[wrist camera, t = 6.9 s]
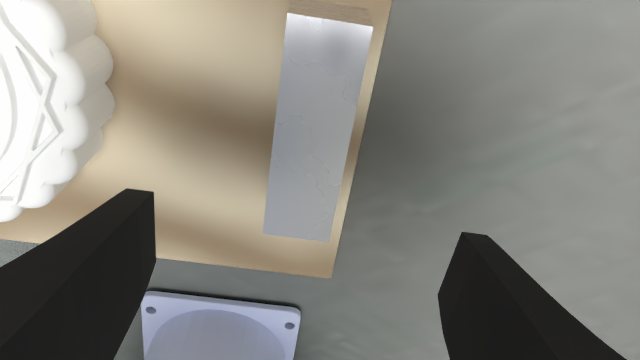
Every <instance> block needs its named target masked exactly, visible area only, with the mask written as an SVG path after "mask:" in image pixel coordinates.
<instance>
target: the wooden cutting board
mask: <svg viewBox="0 0 640 360" xmlns="http://www.w3.org/2000/svg"><path fill="white" fill-rule="evenodd" d="M91 2H92V3H93V6H94V8H95V11H96V14H97V27H96V31H95V33H94V34H95V35H96V36H98V37H99V38H100V39H101V40H102V41H103V42H104V43H105V44H106V46H107V47H108V49H109V50H110V53H111V55H112V58H113V71H112V74H111V76H110V78H109V79H108V80H107V81H106V82H105V84H106V85H107V86H108V88H109V89H110V91H111V93H112V94H113V97H114V101H115V109H114V113H113V115H112V117H111V118H110V119H109V120H108V121H107V122H106V123H105V124H104V125H103V126H102V127H101V129H102V132H103V139H104V140H103V145H102V147H101V149H100V150H99V151H98V152H97V153H96V154H95V155H94V156H93V157H92V158H91V159H90V160H89V161H88V162H87V163H86V165H85V166H84V167H83V168H82V169H81V170H80V171H79V172H78V174H77V175H76V176H75V177H74V178H73V179H72V180H71V181H70V182H69V183H68V184H67V185H66V186H65V187H64V188H63V189H62V190H61V191H60V192H59V193H58V194H57V196H56V197H55V198H54V199H53V200H52V201H51V202H49V203H48V204H47V205H45V206H43V207H39V208H26V209H25V210H24V211H23V212H22V213H21V214H20V215H19V216H18V217H17V218H15V219H13V220H10V221H7V222H0V239H7V240H15V241H24V242H32V243H40V244H42V243H43V242H45V241H47V240H48V239H50V238H52V237H53V236H55V235H57V234H58V233H60V232H61V231H63V230H64V229H66V228H67V227H69V226H70V225H72V224H73V223H75V222H77V221H78V220H80V219H81V218H83V217H84V216H86V215H87V214H89V213H90V212H92V211H93V210H95V209H96V208H98V207H99V206H100V205H102V204H103V203H105V202H106V201H108V200H109V199H111V198H112V197H114V196H115V195H117V194H118V193H120V192H121V191H123V190H125V189H126V188H129V189H137V190H145V191H152V192H154V211H155V241H156V258H164V259H172V260H180V261H189V262H197V263H205V264H213V265H222V266H230V267H238V268H246V269H255V270H263V271H271V272H279V273H288V274H296V275H304V276H312V277H321V278H329V279H331V276H332V271H333V267H334V262H335V258H336V253H337V249H338V244H339V239H340V235H341V230H342V226H343V221H344V217H345V212H346V208H347V203H348V199H349V194H350V190H351V185H352V180H353V176H354V171H355V167H356V162H357V158H358V153H359V149H360V144H361V140H362V135H363V131H364V126H365V121H366V117H367V112H368V108H369V103H370V99H371V94H372V90H373V85H374V81H375V76H376V72H377V67H378V62H379V58H380V53H381V49H382V44H383V40H384V35H385V31H386V26H387V22H388V17H389V13H390V8H391V4H392V0H91Z"/></svg>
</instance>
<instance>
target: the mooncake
mask: <svg viewBox="0 0 640 360" xmlns="http://www.w3.org/2000/svg"><path fill="white" fill-rule="evenodd" d="M96 27H97V14H96V11H95V8H94V6H93V3H92V2H91V0H0V222H7V221H10V220H13V219H15V218H17V217H18V216H19V215H20V214H21V213H22V212H23V211H24V210H25V209H26V208H39V207H43V206H45V205H47V204H48V203H49V202H51V201H52V200H53V199H54V198H55V197H56V196H57V194H58V193H59V192H60V191H61V190H62V189H63V188H64V187H65V186H66V185H67V184H68V183H69V182H70V181H71V180H72V179H73V178H74V177H75V176H76V175H77V174H78V172H79V171H80V170H81V169H82V168H83V167H84V166H85V165H86V163H87V162H88V161H89V160H90V159H91V158H92V157H93V156H94V155H95V154H96V153H97V152H98V151H99V150H100V149H101V147H102V145H103V140H104V139H103V132H102V129H101V127H102V126H103V125H104V124H105V123H106V122H107V121H108V120H109V119H110V118H111V117H112V115H113V113H114V109H115V101H114V97H113V94H112V93H111V91H110V89H109V88H108V86H107V85H106V84H105V82H106V81H107V80H108V79H109V78H110V76H111V74H112V71H113V58H112V55H111V53H110V50H109V49H108V47H107V46H106V44H105V43H104V42H103V41H102V40H101V39H100V38H99V37H98V36H96V35H95V34H94V33H95V31H96Z"/></svg>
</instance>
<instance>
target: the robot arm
mask: <svg viewBox="0 0 640 360" xmlns="http://www.w3.org/2000/svg"><path fill="white" fill-rule="evenodd" d="M155 263H156V241H155V211H154V192H152V191H145V190H137V189H129V188H126V189H125V190H123V191H121V192H120V193H118V194H117V195H115V196H114V197H112V198H111V199H109V200H108V201H106V202H105V203H103V204H102V205H100V206H99V207H98V208H96V209H95V210H93V211H92V212H90V213H89V214H87V215H86V216H84V217H83V218H81V219H80V220H78V221H77V222H75V223H73V224H72V225H70V226H69V227H67V228H66V229H64V230H63V231H61V232H60V233H58V234H57V235H55V236H53V237H52V238H50V239H48V240H47V241H45V242H43V243H42V244H40V245H38V246H36V247H35V248H33V249H31V250H30V251H28V252H26V253H25V254H23V255H21V256H19V257H18V258H16V259H14V260H13V261H11V262H9V263H7V264H5V265H4V266H2V267H0V360H113V359H114V357H115V355H116V353H117V351H118V349H119V347H120V345H121V343H122V341H123V339H124V337H125V335H126V333H127V331H128V329H129V327H130V325H131V323H132V321H133V319H134V317H135V315H136V313H137V311H138V309H139V307H140V304H141V314H142V331H143V348H144V360H293V357H294V352H295V347H296V341H297V336H298V331H299V325H300V320H301V312H300V311H299V310H298V309H297V308H294V307H287V306H278V305H270V304H261V303H252V302H244V301H235V300H227V299H218V298H210V297H201V296H192V295H184V294H175V293H167V292H158V291H147V292H146V289H147V287H148V284H149V281H150V278H151V275H152V272H153V269H154V266H155ZM438 300H439V308H440V316H441V323H442V329H443V335H444V339H445V342H446V346H447V350H448V353H449V357H450V360H626V359H625V358H624V357H622V356H621V355H620V354H618V353H617V352H616V351H614V350H613V349H612V348H610V347H609V346H608V345H607V344H605V343H604V342H603V341H602V340H601V339H599V338H598V337H597V336H596V335H594V334H593V333H592V332H591V331H590V330H589V329H587V328H586V327H585V326H584V325H583V324H582V323H580V322H579V321H578V320H577V319H576V318H575V317H574V316H572V315H571V314H570V313H569V312H568V311H567V310H566V309H565V308H563V307H562V306H561V305H560V304H559V303H558V302H557V301H556V300H555V299H554V298H553V297H551V296H550V295H549V294H548V293H547V292H546V291H545V290H544V289H543V288H542V287H541V286H540V285H539V284H538V283H537V282H536V281H535V280H534V279H533V278H532V277H531V276H530V275H528V274H527V273H526V272H525V271H524V270H523V269H522V268H521V267H520V266H519V265H518V264H517V263H516V262H515V261H514V260H513V259H512V258H511V257H510V256H509V255H508V254H507V253H506V252H505V251H504V250H503V249H502V248H501V247H500V246H499V245H498V244H496V243H495V242H494V241H493V240H492V239H491V238H490V237H488V236H487V235H482V234H475V233H467V232H462V233H461V235H460V238H459V241H458V243H457V246H456V248H455V251H454V254H453V256H452V259H451V261H450V264H449V267H448V269H447V272H446V274H445V277H444V280H443V282H442V285H441V287H440V290H439V293H438ZM151 307H154V308H151ZM289 323H292V324H289Z"/></svg>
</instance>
